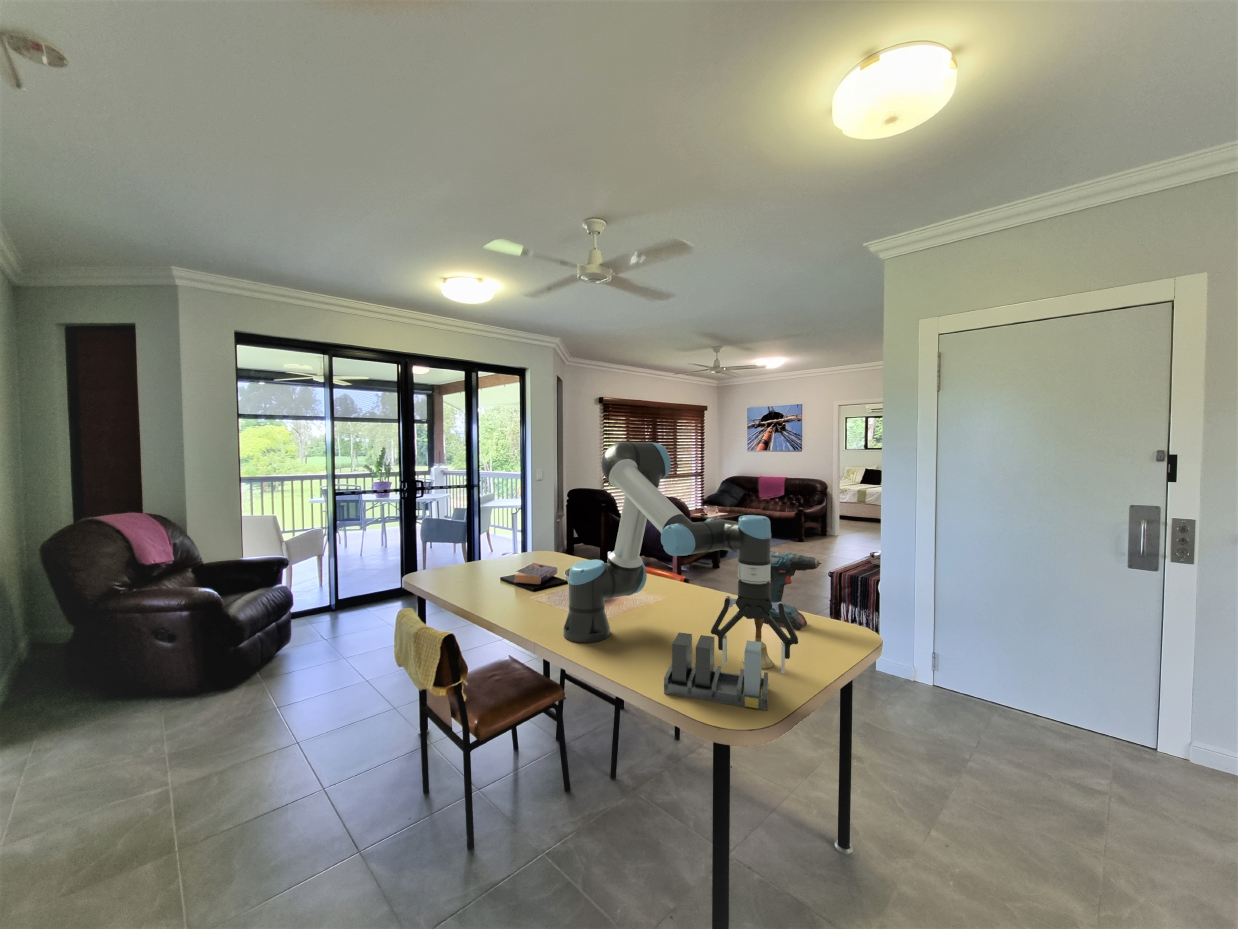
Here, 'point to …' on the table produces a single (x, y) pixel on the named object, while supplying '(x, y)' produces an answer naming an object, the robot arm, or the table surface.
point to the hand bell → (765, 659)
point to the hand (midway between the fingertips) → (753, 667)
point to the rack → (707, 676)
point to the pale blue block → (752, 668)
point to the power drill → (780, 576)
